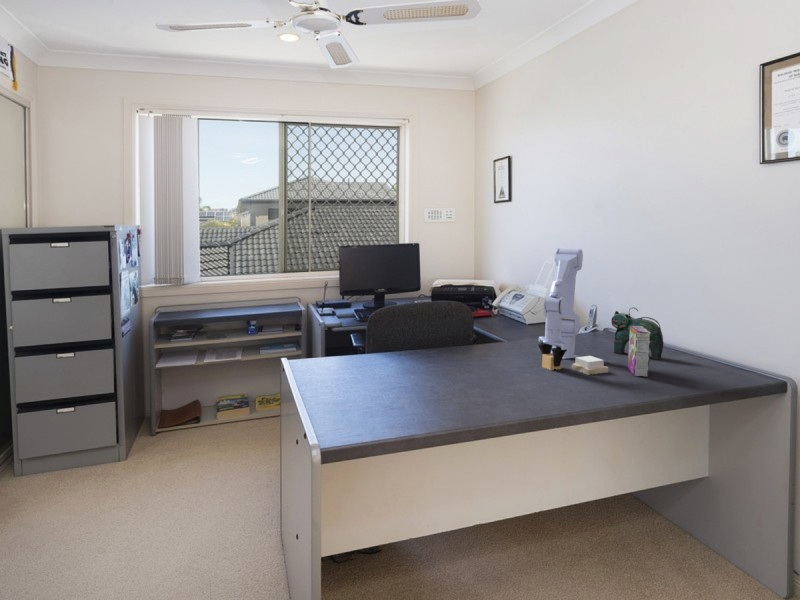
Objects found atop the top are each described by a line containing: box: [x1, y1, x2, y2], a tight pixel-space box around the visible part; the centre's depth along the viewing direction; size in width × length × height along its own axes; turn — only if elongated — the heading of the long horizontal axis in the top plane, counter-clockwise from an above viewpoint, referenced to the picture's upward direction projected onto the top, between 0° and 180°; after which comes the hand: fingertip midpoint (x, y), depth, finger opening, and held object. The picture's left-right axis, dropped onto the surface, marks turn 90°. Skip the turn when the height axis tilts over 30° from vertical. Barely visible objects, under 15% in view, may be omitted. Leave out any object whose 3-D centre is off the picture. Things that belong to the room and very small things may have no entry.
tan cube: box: [541, 353, 562, 371], centre depth 197 cm, size 5×5×5 cm
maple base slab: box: [571, 362, 609, 376], centre depth 194 cm, size 9×9×2 cm
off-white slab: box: [574, 355, 605, 369], centre depth 194 cm, size 7×7×2 cm
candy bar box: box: [627, 326, 651, 378], centre depth 190 cm, size 11×5×16 cm, turn 168°
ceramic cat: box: [611, 307, 665, 360], centre depth 214 cm, size 20×6×20 cm, turn 49°
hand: (551, 364), depth 197 cm, fingers open, 6 cm apart
